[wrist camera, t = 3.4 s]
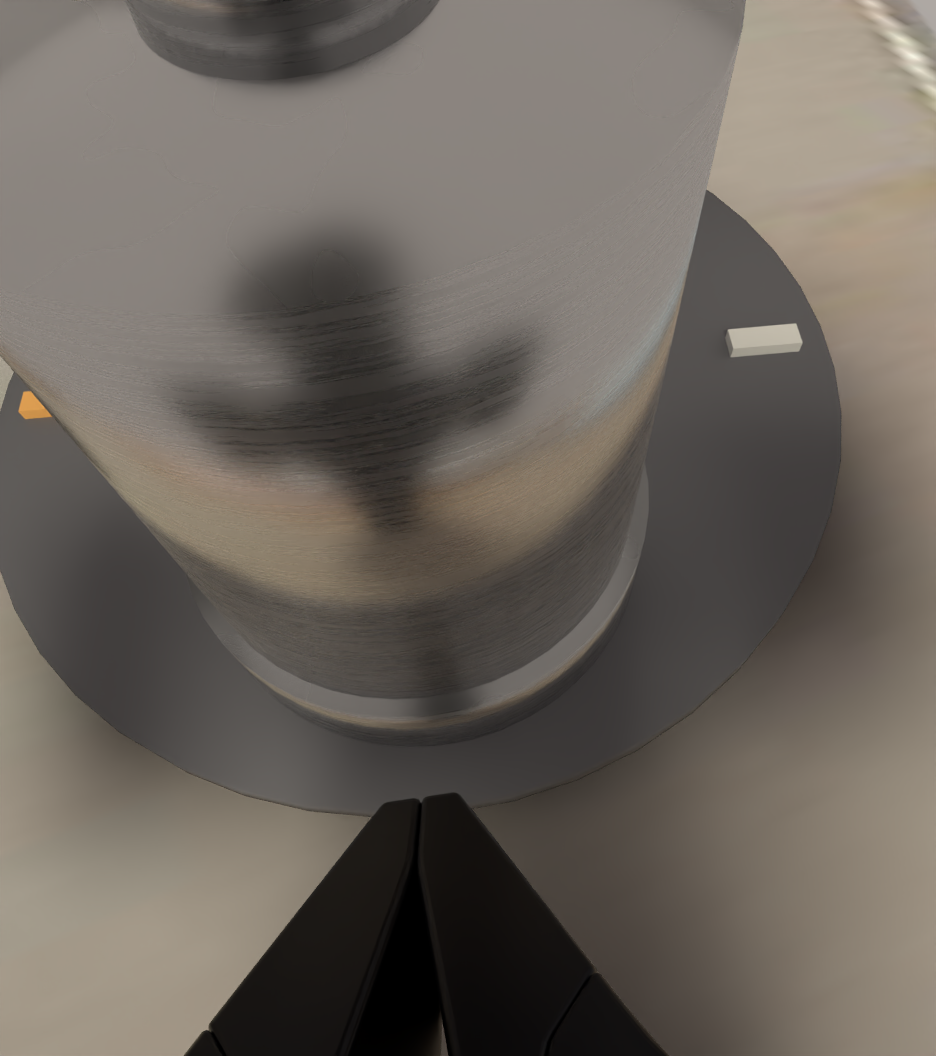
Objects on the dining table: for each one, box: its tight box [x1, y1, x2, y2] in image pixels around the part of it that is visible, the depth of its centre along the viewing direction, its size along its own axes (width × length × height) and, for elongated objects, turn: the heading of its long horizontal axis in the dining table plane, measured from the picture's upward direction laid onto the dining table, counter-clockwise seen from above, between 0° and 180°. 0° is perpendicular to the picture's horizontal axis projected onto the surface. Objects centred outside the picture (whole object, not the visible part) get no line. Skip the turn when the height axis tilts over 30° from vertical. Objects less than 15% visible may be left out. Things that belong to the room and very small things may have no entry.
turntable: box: [0, 190, 841, 817], centre depth 20 cm, size 20×20×1 cm
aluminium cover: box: [0, 0, 746, 747], centre depth 12 cm, size 9×9×12 cm
